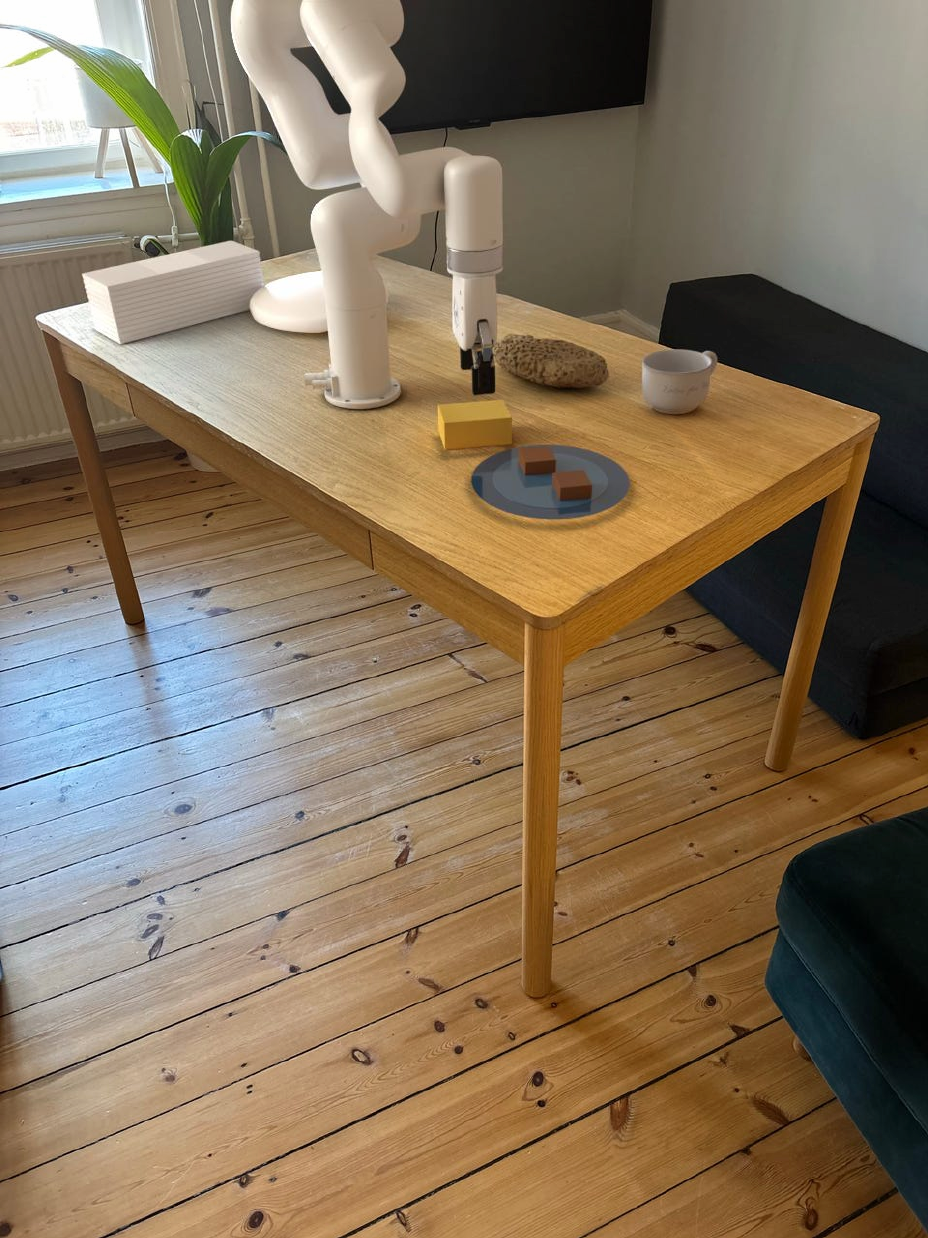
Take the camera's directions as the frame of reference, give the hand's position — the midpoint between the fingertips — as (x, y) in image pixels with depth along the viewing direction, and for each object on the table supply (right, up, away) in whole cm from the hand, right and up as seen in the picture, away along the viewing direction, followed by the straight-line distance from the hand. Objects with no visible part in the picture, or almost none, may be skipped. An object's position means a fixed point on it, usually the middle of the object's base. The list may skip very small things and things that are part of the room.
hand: (477, 380), depth 141 cm
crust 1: (+8, -13, -2) cm, 15 cm away
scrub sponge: (0, -8, +6) cm, 10 cm away
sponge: (+13, +6, +26) cm, 30 cm away
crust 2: (+13, -17, -8) cm, 23 cm away
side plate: (+10, -16, -5) cm, 19 cm away
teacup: (+33, 0, +17) cm, 37 cm away
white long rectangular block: (-58, +25, +54) cm, 83 cm away
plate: (-30, +26, +54) cm, 67 cm away
